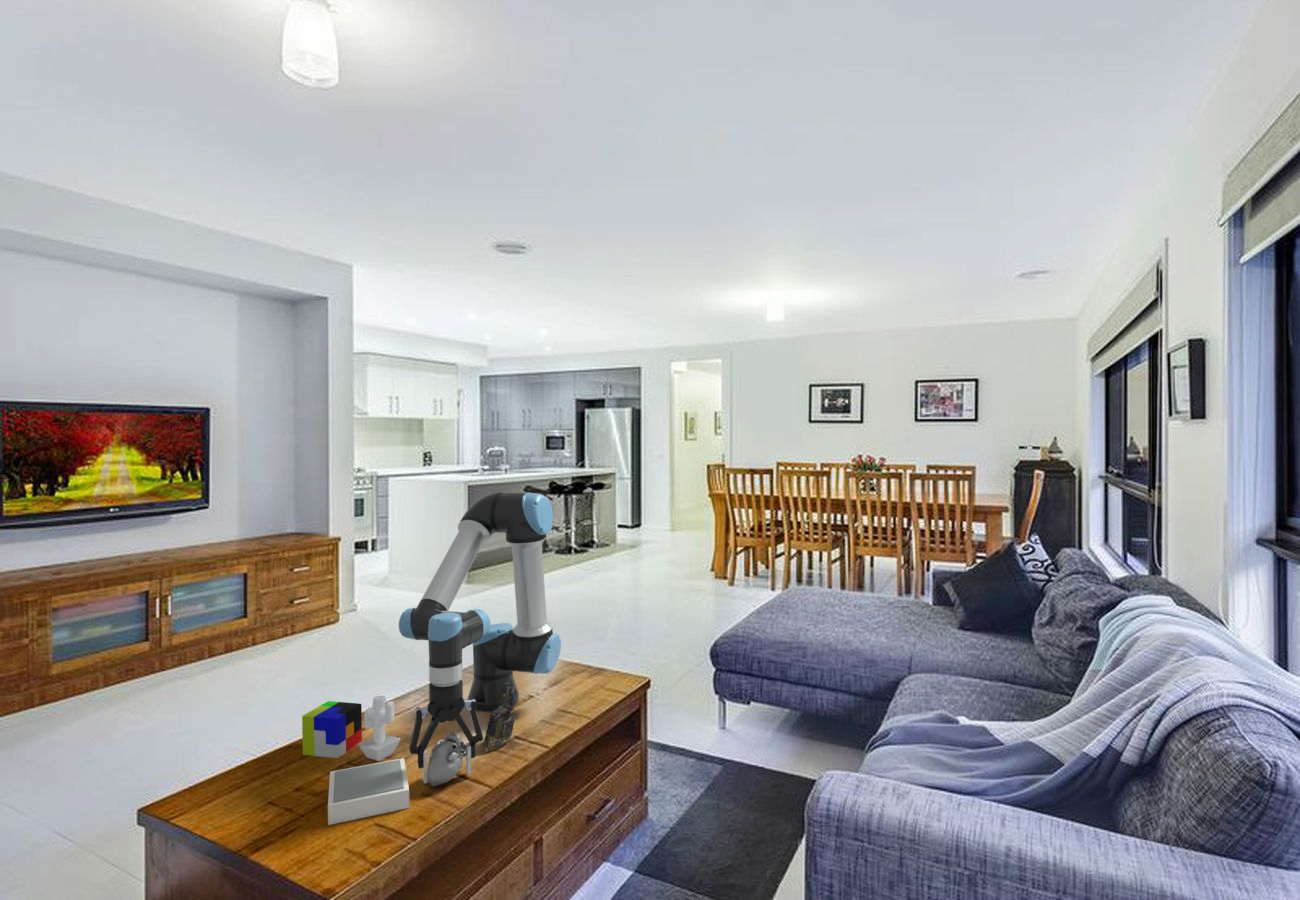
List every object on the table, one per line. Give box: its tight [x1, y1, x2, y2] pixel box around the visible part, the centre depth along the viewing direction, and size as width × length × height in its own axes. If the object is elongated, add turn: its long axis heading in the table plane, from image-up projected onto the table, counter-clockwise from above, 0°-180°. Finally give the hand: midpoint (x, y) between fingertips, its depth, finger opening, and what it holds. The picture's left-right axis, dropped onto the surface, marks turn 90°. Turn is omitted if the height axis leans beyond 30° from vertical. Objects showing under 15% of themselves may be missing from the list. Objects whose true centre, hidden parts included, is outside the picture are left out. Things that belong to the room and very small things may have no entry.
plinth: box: [327, 757, 410, 826], centre depth 152 cm, size 16×16×4 cm
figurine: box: [357, 695, 402, 762], centre depth 173 cm, size 7×9×15 cm
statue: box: [482, 682, 515, 752], centre depth 179 cm, size 6×12×15 cm, turn 155°
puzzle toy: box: [301, 700, 363, 759], centre depth 177 cm, size 10×10×10 cm
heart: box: [427, 731, 467, 787], centre depth 159 cm, size 10×10×12 cm
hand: (447, 775), depth 160 cm, fingers closed on heart, 9 cm apart
